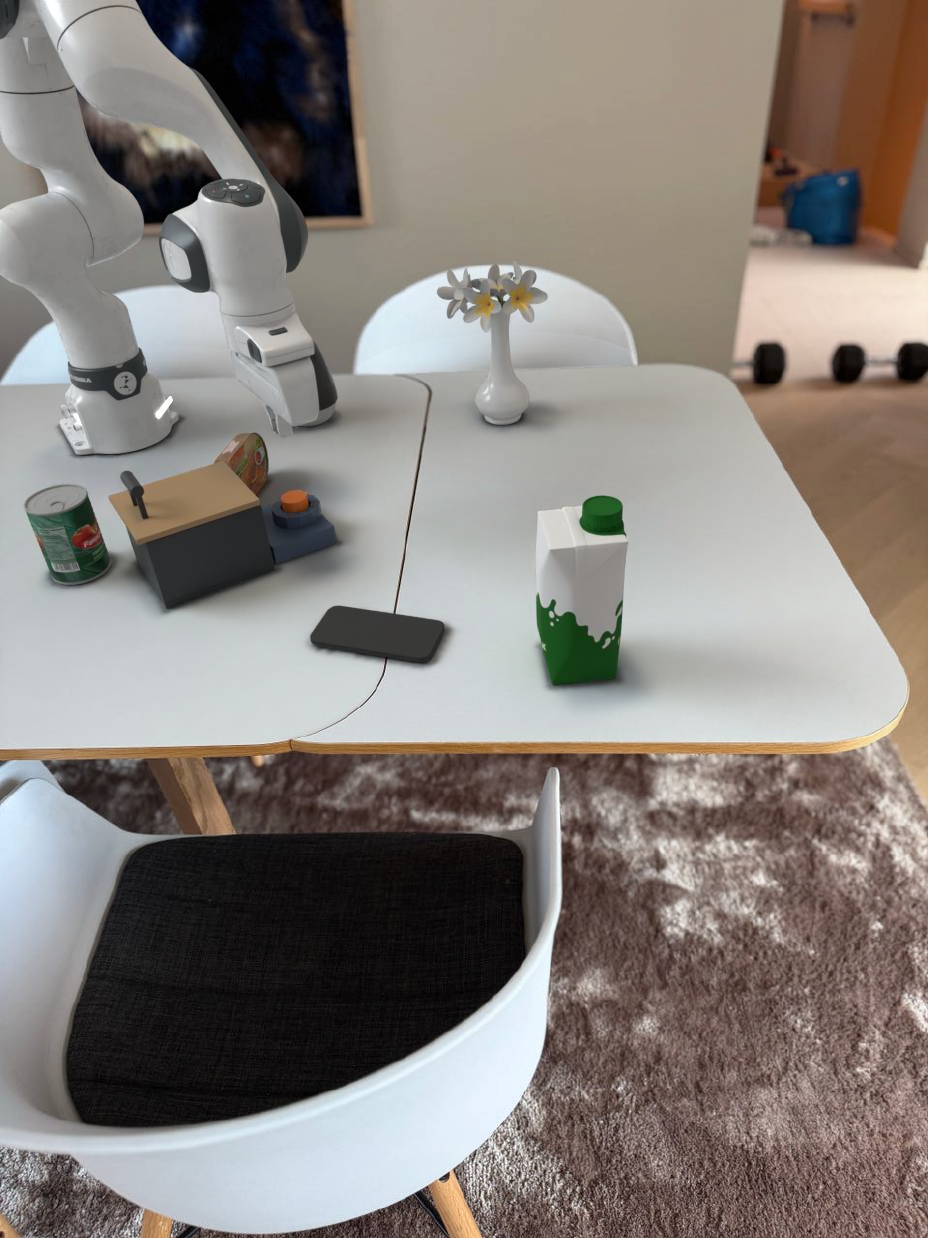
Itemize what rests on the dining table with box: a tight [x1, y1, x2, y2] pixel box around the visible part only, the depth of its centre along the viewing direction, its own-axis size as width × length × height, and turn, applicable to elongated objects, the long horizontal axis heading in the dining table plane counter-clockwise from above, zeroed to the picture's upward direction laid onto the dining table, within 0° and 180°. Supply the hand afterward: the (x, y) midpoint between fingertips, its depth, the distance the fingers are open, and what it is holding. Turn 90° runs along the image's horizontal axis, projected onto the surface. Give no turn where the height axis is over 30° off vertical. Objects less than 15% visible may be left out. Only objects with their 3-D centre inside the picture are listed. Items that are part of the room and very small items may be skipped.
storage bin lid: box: [107, 461, 262, 545], centre depth 115 cm, size 16×13×5 cm
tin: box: [213, 431, 270, 496], centre depth 135 cm, size 15×3×8 cm, turn 168°
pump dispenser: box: [298, 340, 339, 427], centre depth 153 cm, size 10×10×15 cm
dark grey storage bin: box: [125, 504, 276, 610], centre depth 120 cm, size 15×13×10 cm
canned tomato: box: [23, 483, 112, 586], centre depth 121 cm, size 8×8×11 cm
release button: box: [280, 489, 309, 513], centre depth 125 cm, size 4×4×2 cm
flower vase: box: [436, 260, 549, 426], centre depth 147 cm, size 13×18×25 cm
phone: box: [309, 605, 446, 663], centre depth 108 cm, size 7×1×15 cm
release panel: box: [261, 493, 337, 565], centre depth 126 cm, size 9×11×4 cm
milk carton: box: [535, 494, 629, 686], centre depth 96 cm, size 9×9×20 cm
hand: (282, 433), depth 119 cm, fingers closed
